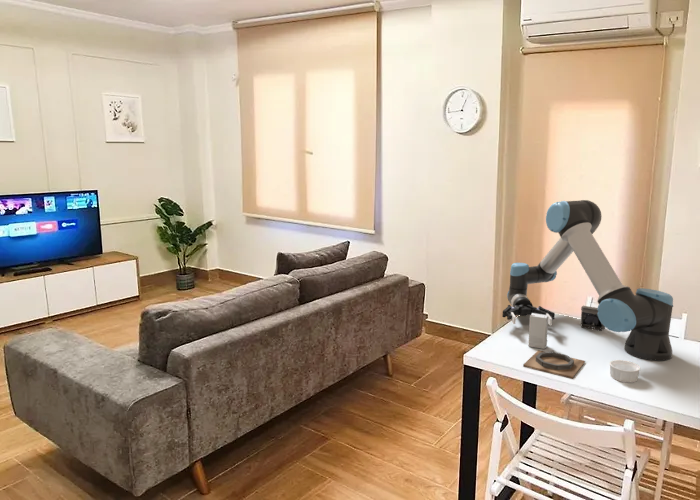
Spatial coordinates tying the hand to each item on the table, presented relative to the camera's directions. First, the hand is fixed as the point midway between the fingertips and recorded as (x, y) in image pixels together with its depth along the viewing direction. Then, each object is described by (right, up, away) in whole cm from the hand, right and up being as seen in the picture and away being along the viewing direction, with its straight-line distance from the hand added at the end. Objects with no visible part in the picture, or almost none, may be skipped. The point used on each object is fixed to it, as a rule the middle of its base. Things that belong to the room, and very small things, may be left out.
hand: (532, 321), depth 208 cm
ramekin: (+18, -14, -34) cm, 41 cm away
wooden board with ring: (-1, -12, -24) cm, 27 cm away
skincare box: (-1, -8, -8) cm, 12 cm away
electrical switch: (+28, -5, +11) cm, 31 cm away
